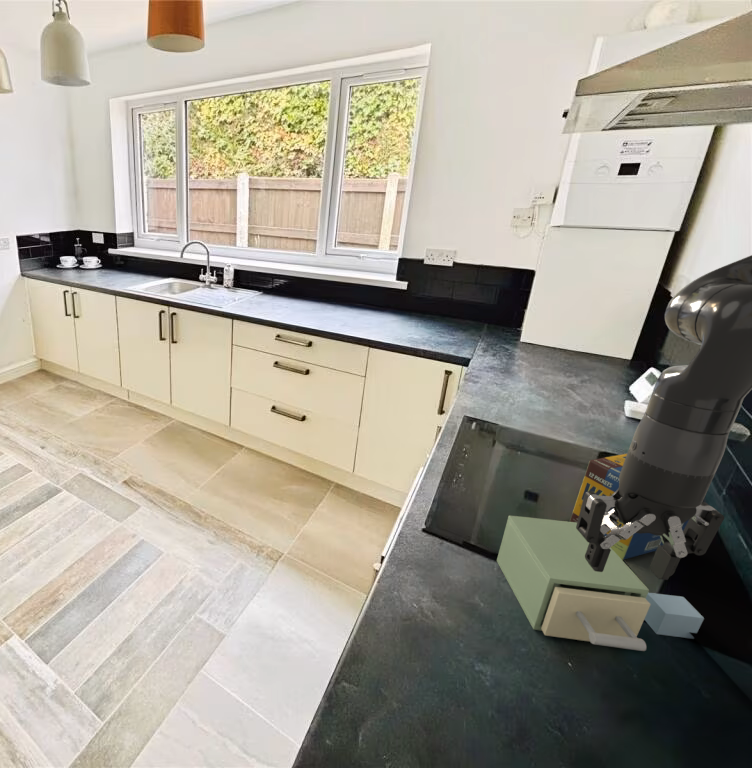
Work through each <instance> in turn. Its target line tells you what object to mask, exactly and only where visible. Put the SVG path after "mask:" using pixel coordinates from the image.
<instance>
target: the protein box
mask: <svg viewBox="0 0 752 768" xmlns="http://www.w3.org/2000/svg"><path fill="white" fill-rule="evenodd" d="M626 456H627V453H622V454H618V455H617V454H616V455H612V456H606V457H601V458H596V459H589V462H588V465H587V467H586V471H585V473H584V477H583V479H582V482H581V485H580V489H579V492H578V495H577V498H576V501H575V504H574V507H573V510H572V514H571V516H570V519H569V522H576V523H577V522H578V518H579V514H580V510H581V506H582V502H583V499H584V495H585V493H586V492H588V491H593V492H594V493H596V494H597V495H598V496H612V494H613V493H615V492H616V491H617V489H618V488H619V475H620V472H621V470H622V467H623V464H624V461H625V458H626ZM612 509H613V507H612V508H610V509H609V510H608V512H609V511H610V510H612ZM688 521H689V520H688ZM688 521H686V522H684V523H683V524H682V525H681V527H682V530H684V528H685V527H686V525H687V523H688ZM617 525H618V526H619V527H620V528H621V527H623V526H624V524H623V523H622V522H621V521H620V520H619V519H618V520H617ZM610 532H611V530H610V531H608V532H607V533H606V534H605V535H604V536H606V535H608V534H609V533H610ZM658 545H662V546H663V545H664V544H663V543H662V541H661V538H660V536H659V535H653V534H650V533H642V534H640V533H634V534H633V535H632V536H631V537H629V538H628V539H626V540H623V539H621V540H619V541H618V542H617V543H616V544H614V545H613V546H612V547H611V548H612V550H613V551H614V552H615V553H616V554H617V555H618V556H619V557H620V558H621V559H622V561H623V562H624V563H625V564H626V562H627V561H625V560H627V559H631V558H636V557H638V556H641V555H645V554H649V553H653V552H656V550H657V548H658Z"/></svg>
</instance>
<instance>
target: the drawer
mask: <svg viewBox="0 0 752 768" xmlns="http://www.w3.org/2000/svg"><path fill="white" fill-rule="evenodd" d="M630 595H631V593H630V592H622V591H614V590H606V589H598V588H589V587H581V586H573V585H565V584H557V583H554V586H553V589H552V592H551V595H550V598H549V601H548V604H547V607H546V610H545V613H544V616H543V619H542V620H544V622H543V624H542V627H541V629H542V633H543V635H544V636H547V637H555V638H561V639H569V640H577V641H582V642H583V641H584V642H590V644H591V645H595V646H603V647H610V648H618V649H625V650H632V651H639V652H645V651H647V643H646V641H645V640H644V639H642V638H639V637H638V635H639V632H640V630H641V628H642V626H643V623H644V621H645V620H644V619H645V617H646V614H647V612H648V610H649V607H650V605H651V604H650V603H649V602H648V601H647V600H646V598H642V597H634V596H630Z"/></svg>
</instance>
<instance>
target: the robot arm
mask: <svg viewBox="0 0 752 768" xmlns="http://www.w3.org/2000/svg"><path fill="white" fill-rule="evenodd" d="M664 321H665V325H666V326H667V328H668V330H669V331H670V332H671V333H672V334H673V335H675V336H677V337H678V338H680V339H682V340H684V341H688V342H690V343H693V344H697V345H700V348H699V349H698V350H697V353H696V354H695V356H694V357H693V358H692V360H691V361H690V362H689V364H688V365H687V364H681V365H673V366H669V367H667V368H666V369H663V371H662V372H661V373H660V374H659V375H658V377H657V380H656V381H655V384H654V386H653V389H652V392H651V395H650V398H649V401H648V403H647V406H646V408H645V411H644V413H643V416H642V418H641V419H640V421H639V423H638V425H637V427H636V428H635V431H634V434H633V436H632V440H631V442H630V445H629V448H628V450H627V453H626V454H627V456H626V458H625V461H624V464H623V467H622V470H621V472H620V475H619V488H618V489H617V491H616V492H615V493H613V494H612V496H598V495H597V494H596V493H594V492H593V491H588V492H586V493H585V495H584V499H583V502H582V506H581V510H580V514H579V518H578V522H577V526H576V529H577V530H578V531H579V532H580V534H581V535H582V536H583V537H584V538H585V539H586V541H587V542H589V545H588V548H587V551H586V554H585V559H586V560H587V562H588V563H589V565H590V566H591V567H592V568H593V570H594V571H597V572H603V570H604V567H605V565H606V562H607V559H608V557H609V554H610V551H611V550H610V547H612V546H613V545H614V544H616V543H617V542H618V541H619V540H621V539H623V540H626V539H628V538H629V537H631V536H632V535H633V534H634V533H640V534H642V533H650V534H653V535H659V536H660V538H661V541H662V543H663V544H664V545H663V546H662V545H658V548H657V550H656V551H655V553H654V555H653V558H652V560H651V563H650V564H649V569H650V571H651V573H652V574H653V575H654V576H655V577H656V578H658V580H664V581H668V580H669V578H670V577H671V576H673V575H674V574H675V572H676V569H677V567H678V566H679V563H680V561H681V559H682V558H685V557H687V556H688V554H694V555H696V556H703V555H705V554H706V553H707V551H708V549H709V547H710V545H711V544H712V542H713V540H714V538H715V536H716V534H717V532H718V531H719V529H720V527H721V525H722V523H723V522H724V520H725V515H724V514H722V513H721V512H719V511H718V510H717V509H716V508H714V506H711V505H710V504H708V503H707V502H705V501H704V500H705V497H706V495H707V493H708V491H709V489H710V486H711V484H712V482H713V479H714V477H715V475H716V473H717V470H718V468H719V466H720V463H721V462H722V459H723V457H724V454H725V451H726V448H727V444H728V438H729V436H730V432H731V431H732V428H733V426H734V424H735V421H736V419H737V417H738V415H739V412H740V410H741V407H742V404H743V401H744V400H745V398H746V396H747V395H748V394H749V393H750V392H751V391H752V254H751V255H749V256H746V257H743V258H740V259H739V260H736V261H733V262H731V263H729V264H726V265H724V266H721V267H719V268H716V269H714V270H712V271H708V272H707V273H704V274H703V275H701V276H699V277H697V278H695V279H694V280H692V281H691V282H689V283H688V284H686V285H685V286H683V287H682V288H681V289H680V290H679V291H677V293H676V294H675V295H674V296H673V297H672V298H671V299H670V301H669V302H668V304H667V306H666V308H665V312H664ZM612 507H613V509H612V510H610V511H609V512H608V510H609V509H610V508H612ZM618 519H619V520H620V521H621V522H622V523H623V524H624V526H623V527H621V528H620V527H619V526H618V525H617V520H618ZM688 520H689V521H688ZM686 521H688V523H687V525H686V527H685V528H684V530H682V527H681V525H682V524H683V523H684V522H686ZM610 530H611V532H610V533H609V534H608V535H606V536H604V535H605V534H606V533H607V532H608V531H610ZM696 537H697V538H696Z"/></svg>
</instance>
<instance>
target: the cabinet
mask: <svg viewBox="0 0 752 768" xmlns="http://www.w3.org/2000/svg"><path fill="white" fill-rule="evenodd" d="M576 526H577V523H576V522H570V521H567V520H565V521H564V520H558V519H557V520H555V519H546V518H538V517H537V518H536V517H528V516H520V515H519V516H517V515H511V514H510V515H508V517H507V520H506V525H505V528H504V532H503V536H502V540H501V543H500V546H499V550H498V555H497V558H496V563H497V564H498V566H499V568H500V570H501V571H502V573H503V575H504V577H505V579H506V581H507V584H508V585H509V587H510V588H511V591H512V593H513V594H514V596H515V598H516V599H517V600H516V601H517V602H518V603H519V605H520V607H521V609H522V611H523V613H524V615H525V616H526V618H527V620H528V622H529V624H530V625H531V628H532V630H534V631H542V629H541V627H542V624H543V622H544V620H542V619H543V616H544V613H545V610H546V607H547V604H548V601H549V598H550V595H551V592H552V589H553V586H554V583H557V584H565V585H573V586H581V587H589V588H598V589H606V590H614V591H622V592H630V593H631V595H630V596H634V597H642V598H646V597H647V594H648V593H650V589H649V588H648V587H647V586H646V584H644V582H643V581H642V580H641V579H640V578H639V577H638V576H637V575H636V574H635V573H634V572H633V570H632V569H631V568H630V567H629V566H628V565H627V564H626V563H624V562H623V561H622V559H621V558H620V557H619V556H618V555H617V554H616V553H615V552H614V551H613V550H612V548H611V547H610V550H611V551H610V554H609V557H608V559H607V562H606V565H605V567H604V570H603V572H597V571H594V570H593V568H592V567H591V566H590V565H589V563H588V562H587V560H586V559H585V554H586V551H587V548H588V545H589V542H587V541H586V539H585V538H584V537H583V536H582V535H581V534H580V532H579V531H578V530H577V529H576ZM542 632H543V631H542Z"/></svg>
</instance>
